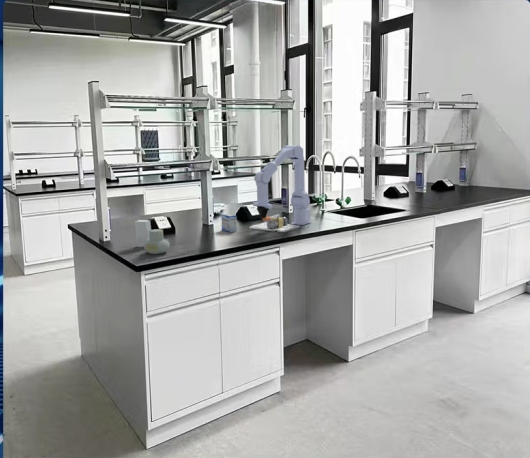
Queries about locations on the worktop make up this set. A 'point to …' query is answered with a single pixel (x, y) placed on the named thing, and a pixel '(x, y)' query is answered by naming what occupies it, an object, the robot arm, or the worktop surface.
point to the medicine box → (229, 222)
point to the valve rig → (276, 225)
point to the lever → (269, 218)
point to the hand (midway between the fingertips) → (263, 220)
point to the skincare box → (142, 232)
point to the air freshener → (156, 242)
